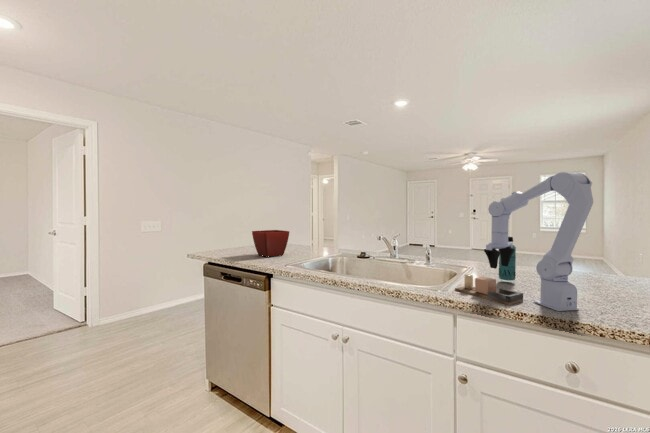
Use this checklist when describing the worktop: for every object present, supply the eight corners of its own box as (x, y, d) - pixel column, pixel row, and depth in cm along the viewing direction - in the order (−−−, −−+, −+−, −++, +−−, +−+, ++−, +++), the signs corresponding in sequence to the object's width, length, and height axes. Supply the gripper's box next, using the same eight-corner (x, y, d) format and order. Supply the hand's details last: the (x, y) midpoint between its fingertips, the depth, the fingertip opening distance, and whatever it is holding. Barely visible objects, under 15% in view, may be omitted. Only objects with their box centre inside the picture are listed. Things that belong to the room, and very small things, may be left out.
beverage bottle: (495, 281, 135) (495, 236, 135) (505, 280, 138) (505, 235, 137) (508, 284, 129) (509, 237, 129) (519, 283, 132) (519, 236, 131)
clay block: (495, 292, 114) (496, 279, 114) (487, 294, 112) (487, 281, 111) (469, 286, 124) (469, 273, 123) (461, 287, 121) (461, 275, 121)
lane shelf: (523, 301, 107) (523, 293, 107) (509, 305, 103) (509, 296, 103) (468, 287, 126) (468, 280, 126) (455, 290, 122) (455, 283, 122)
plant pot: (275, 252, 223) (275, 229, 222) (290, 255, 208) (290, 231, 207) (251, 255, 210) (251, 230, 210) (265, 259, 196) (264, 232, 195)
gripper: (500, 230, 127) (500, 263, 127) (478, 232, 120) (478, 267, 120) (518, 232, 121) (517, 266, 121) (496, 233, 113) (495, 270, 114)
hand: (499, 267), depth 120 cm, fingers open, 7 cm apart
